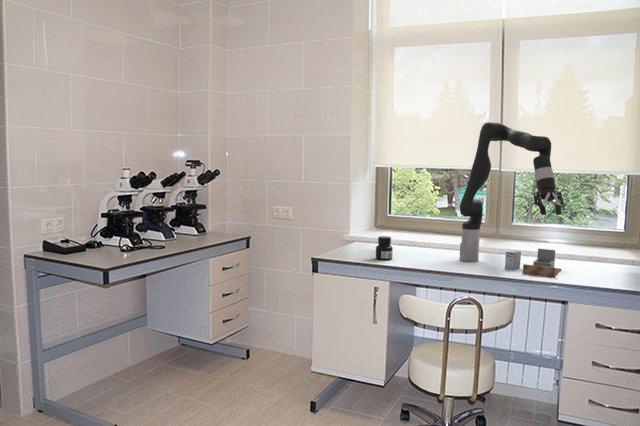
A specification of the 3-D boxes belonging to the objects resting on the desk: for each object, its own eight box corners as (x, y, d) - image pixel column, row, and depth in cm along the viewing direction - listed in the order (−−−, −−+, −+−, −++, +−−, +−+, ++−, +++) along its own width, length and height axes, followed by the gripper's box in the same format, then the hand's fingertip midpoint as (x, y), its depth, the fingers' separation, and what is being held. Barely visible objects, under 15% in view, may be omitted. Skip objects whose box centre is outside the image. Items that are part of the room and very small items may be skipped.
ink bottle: (383, 261, 278) (384, 238, 276) (371, 258, 284) (372, 236, 283) (396, 259, 284) (396, 237, 283) (383, 257, 291) (384, 235, 289)
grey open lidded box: (532, 269, 258) (534, 251, 258) (537, 265, 269) (538, 248, 268) (550, 271, 254) (551, 253, 253) (554, 267, 264) (555, 250, 264)
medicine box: (511, 266, 270) (512, 249, 269) (520, 268, 267) (521, 251, 266) (504, 268, 264) (505, 251, 263) (513, 270, 261) (514, 252, 260)
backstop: (522, 273, 252) (523, 264, 252) (531, 266, 272) (532, 257, 271) (554, 277, 245) (554, 268, 244) (561, 269, 264) (561, 260, 264)
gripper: (550, 182, 239) (557, 216, 236) (526, 181, 234) (532, 216, 230) (563, 177, 232) (570, 213, 229) (538, 176, 227) (545, 212, 223)
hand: (551, 214), depth 230 cm, fingers open, 8 cm apart
